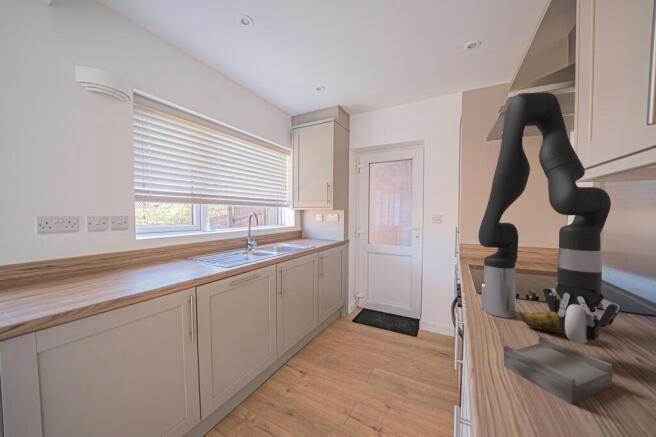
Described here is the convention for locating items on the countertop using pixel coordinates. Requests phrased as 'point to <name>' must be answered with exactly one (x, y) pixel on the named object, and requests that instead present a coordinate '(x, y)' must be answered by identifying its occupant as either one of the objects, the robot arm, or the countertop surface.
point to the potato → (544, 321)
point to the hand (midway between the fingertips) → (577, 335)
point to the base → (560, 369)
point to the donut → (576, 324)
